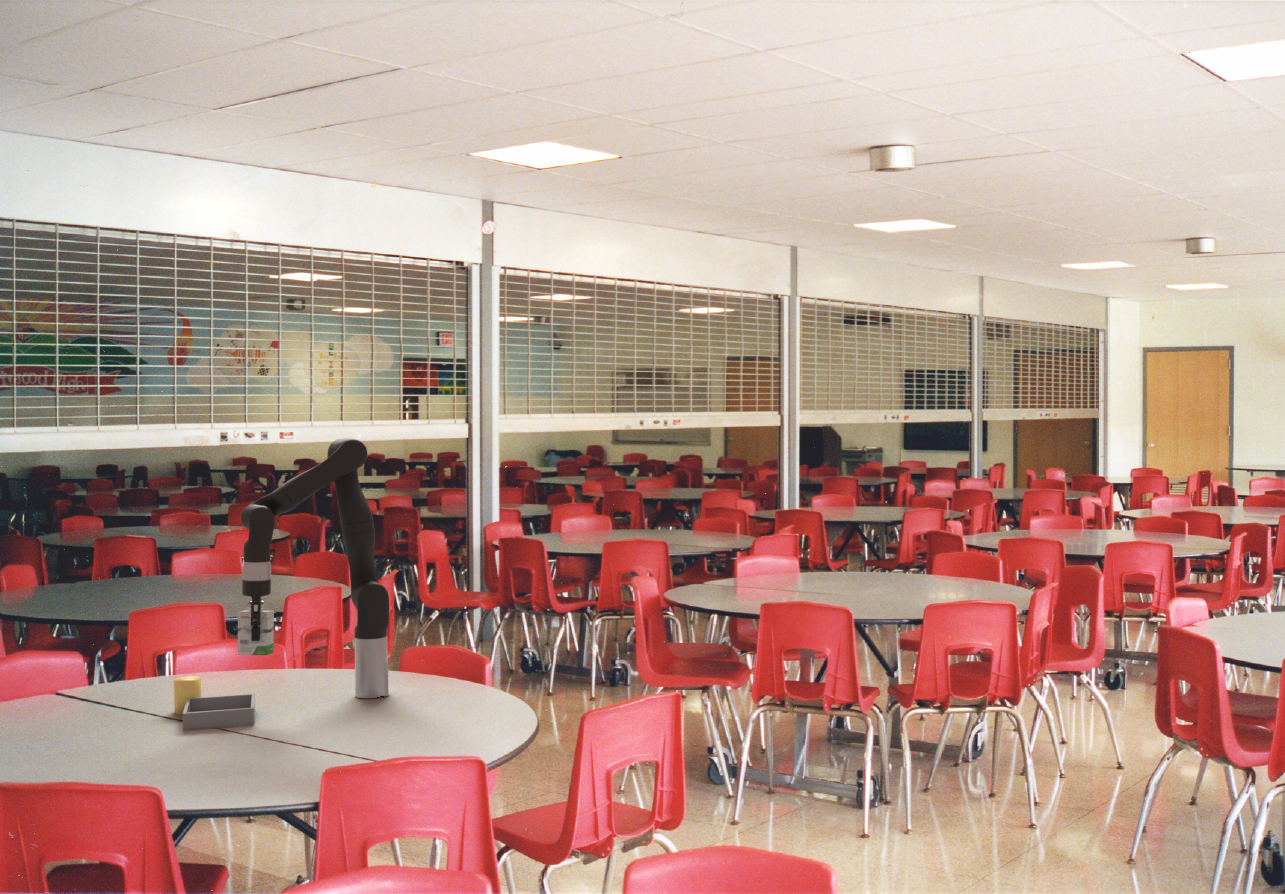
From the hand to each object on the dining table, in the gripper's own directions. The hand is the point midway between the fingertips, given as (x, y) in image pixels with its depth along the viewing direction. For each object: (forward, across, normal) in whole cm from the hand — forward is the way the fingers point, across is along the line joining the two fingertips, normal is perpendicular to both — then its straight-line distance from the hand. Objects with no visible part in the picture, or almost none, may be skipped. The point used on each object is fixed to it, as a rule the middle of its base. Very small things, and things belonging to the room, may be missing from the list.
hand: (255, 638), depth 333 cm
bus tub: (+21, -5, +9) cm, 23 cm away
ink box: (+4, 0, 0) cm, 4 cm away
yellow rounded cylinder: (+21, +8, +18) cm, 29 cm away
